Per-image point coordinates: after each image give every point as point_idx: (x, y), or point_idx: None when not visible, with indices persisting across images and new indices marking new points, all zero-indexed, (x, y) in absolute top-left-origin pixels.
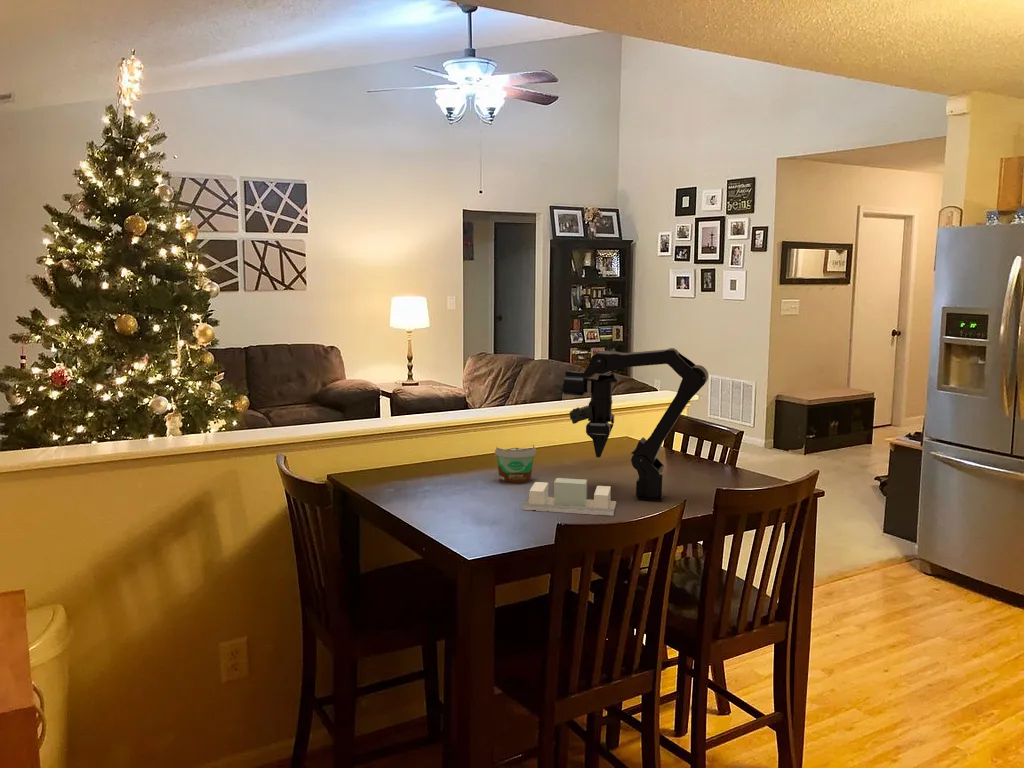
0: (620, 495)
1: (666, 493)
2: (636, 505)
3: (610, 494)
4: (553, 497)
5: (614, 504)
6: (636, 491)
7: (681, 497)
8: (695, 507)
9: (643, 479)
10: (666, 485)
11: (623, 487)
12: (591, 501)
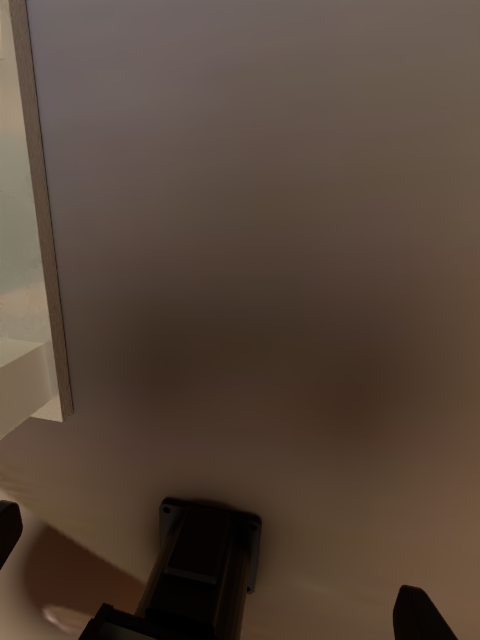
0: (223, 444)
1: (286, 603)
2: (92, 480)
3: (26, 417)
4: (14, 99)
5: None
6: (182, 521)
7: None
8: None
9: (142, 605)
10: None
11: (375, 474)
12: (19, 318)
